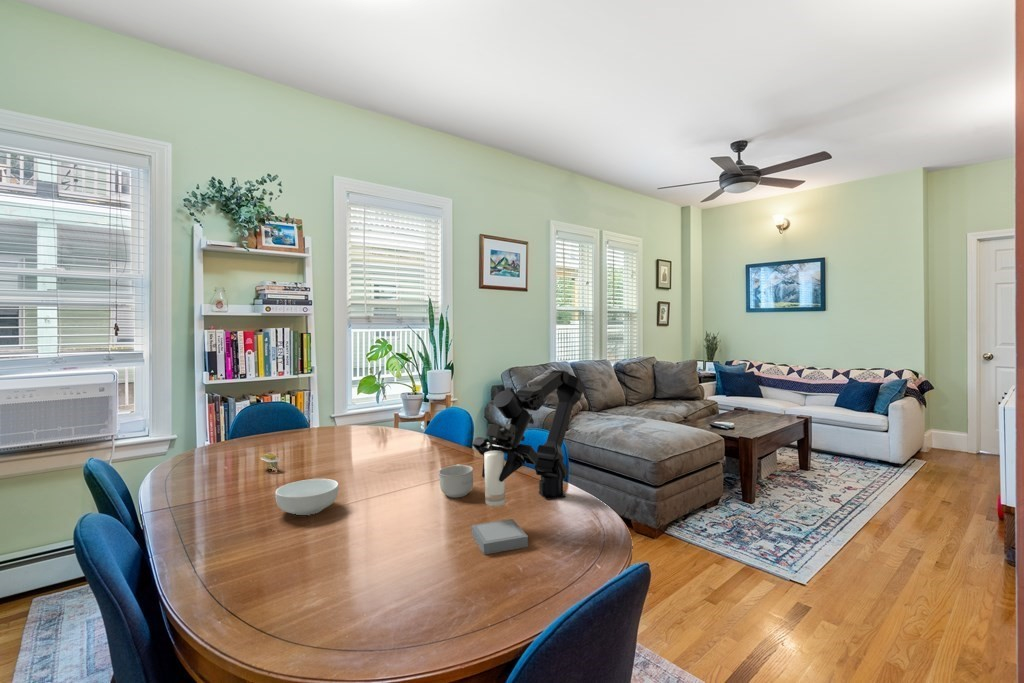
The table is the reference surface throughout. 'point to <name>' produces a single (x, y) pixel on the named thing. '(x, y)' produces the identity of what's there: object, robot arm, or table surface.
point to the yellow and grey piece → (271, 460)
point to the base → (499, 536)
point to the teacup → (456, 480)
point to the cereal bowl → (307, 496)
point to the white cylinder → (494, 478)
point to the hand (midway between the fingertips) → (491, 479)
